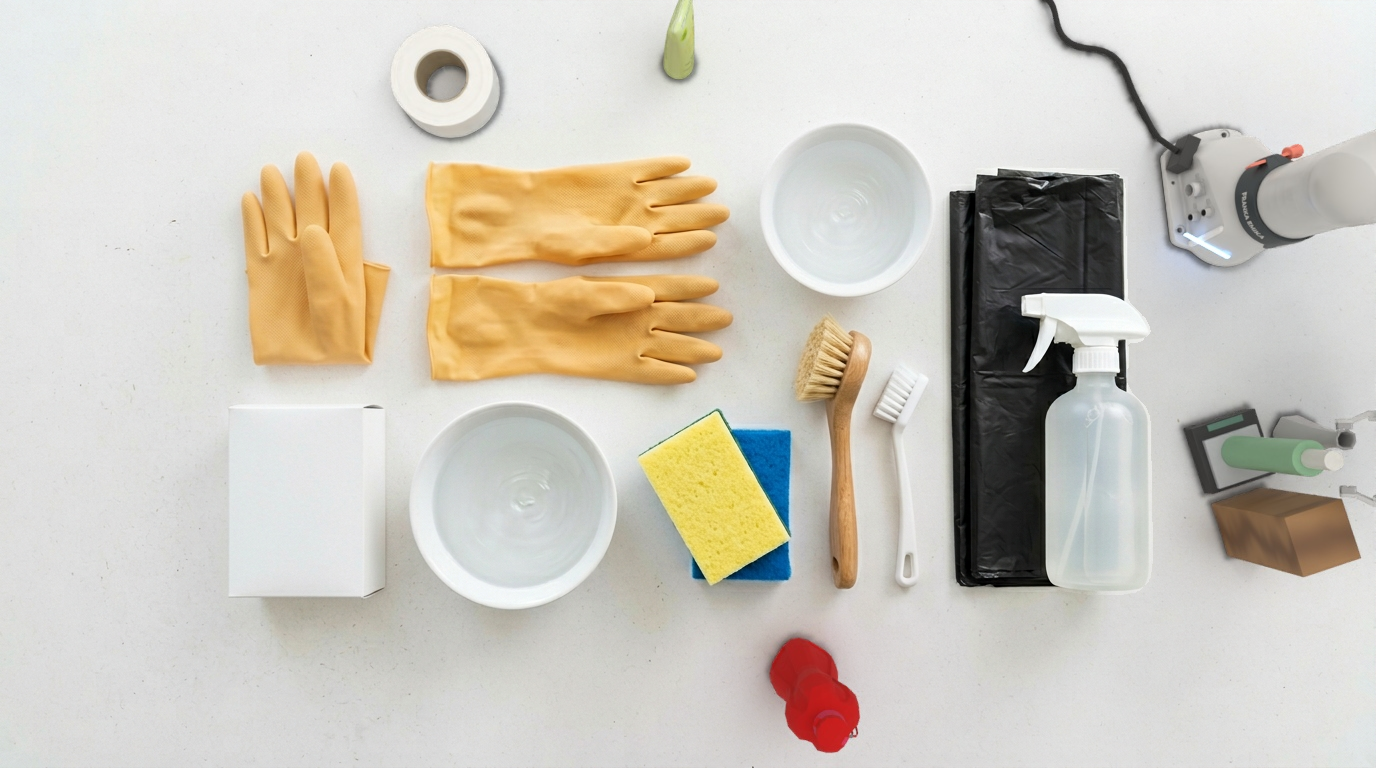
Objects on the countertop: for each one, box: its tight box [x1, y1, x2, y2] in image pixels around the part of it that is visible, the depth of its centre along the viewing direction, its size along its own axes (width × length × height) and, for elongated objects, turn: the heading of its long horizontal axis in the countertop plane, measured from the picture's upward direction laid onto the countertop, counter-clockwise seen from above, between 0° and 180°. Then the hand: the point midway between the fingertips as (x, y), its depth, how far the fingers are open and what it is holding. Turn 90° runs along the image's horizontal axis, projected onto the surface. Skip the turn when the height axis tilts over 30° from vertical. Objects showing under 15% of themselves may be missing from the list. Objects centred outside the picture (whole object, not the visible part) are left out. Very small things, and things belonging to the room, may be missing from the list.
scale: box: [1183, 408, 1277, 495], centre depth 124 cm, size 11×11×3 cm
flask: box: [1272, 414, 1357, 451], centre depth 121 cm, size 7×7×10 cm
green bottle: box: [1221, 436, 1345, 478], centre depth 114 cm, size 5×5×18 cm
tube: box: [662, 0, 695, 80], centre depth 115 cm, size 6×5×20 cm
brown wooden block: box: [1210, 486, 1362, 578], centre depth 118 cm, size 9×9×15 cm
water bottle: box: [769, 637, 861, 754], centre depth 111 cm, size 9×11×25 cm
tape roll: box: [389, 24, 501, 139], centre depth 121 cm, size 16×16×6 cm
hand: (1337, 457), depth 109 cm, fingers open, 8 cm apart
